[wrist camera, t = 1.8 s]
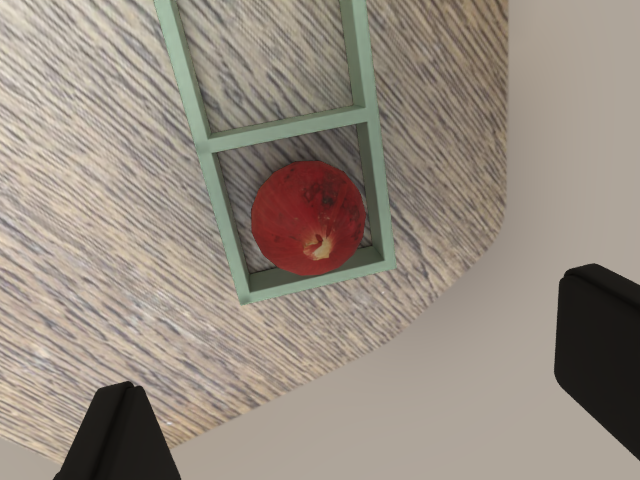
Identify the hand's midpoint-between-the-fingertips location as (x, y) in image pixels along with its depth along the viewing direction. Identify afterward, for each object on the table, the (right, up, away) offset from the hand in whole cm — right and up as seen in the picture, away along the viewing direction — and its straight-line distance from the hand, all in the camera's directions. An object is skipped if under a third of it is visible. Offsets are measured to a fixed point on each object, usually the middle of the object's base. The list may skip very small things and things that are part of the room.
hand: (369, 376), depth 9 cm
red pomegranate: (-2, +6, +16) cm, 17 cm away
